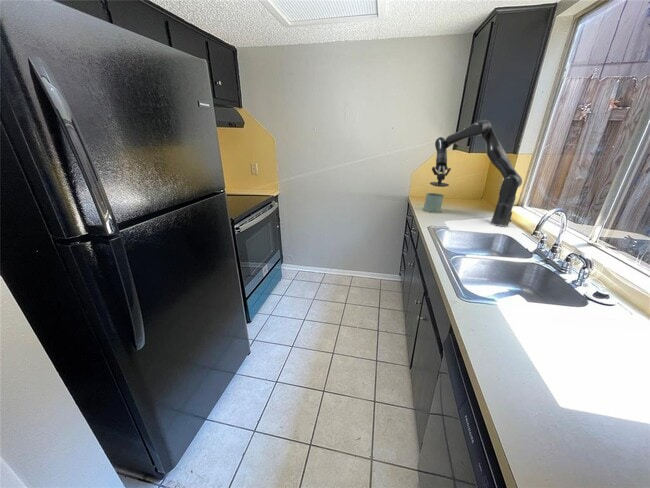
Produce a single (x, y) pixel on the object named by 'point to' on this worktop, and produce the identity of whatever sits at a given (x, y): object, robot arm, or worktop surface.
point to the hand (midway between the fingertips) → (440, 179)
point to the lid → (439, 182)
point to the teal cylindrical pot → (433, 202)
